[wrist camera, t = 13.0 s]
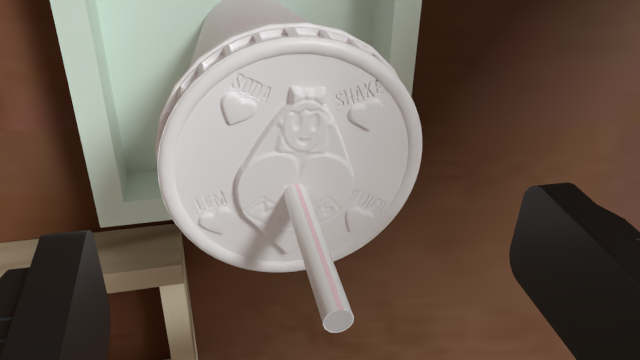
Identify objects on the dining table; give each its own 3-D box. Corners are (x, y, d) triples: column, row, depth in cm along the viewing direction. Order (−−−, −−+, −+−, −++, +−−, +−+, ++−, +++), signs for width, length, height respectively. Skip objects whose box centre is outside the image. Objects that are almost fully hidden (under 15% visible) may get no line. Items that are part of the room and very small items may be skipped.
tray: (40, -141, 18) (19, -137, 15) (402, -136, 20) (436, -132, 18) (107, 186, 24) (100, 227, 21) (378, 160, 26) (400, 194, 24)
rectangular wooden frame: (-53, 249, 24) (-79, 297, 21) (179, 222, 25) (181, 264, 23) (7, 398, 28) (-8, 452, 26) (199, 367, 30) (202, 414, 28)
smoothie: (161, 117, 22) (148, 437, 10) (161, -59, 19) (140, 116, 7) (320, 122, 24) (464, 404, 12) (344, -39, 20) (572, 131, 9)
